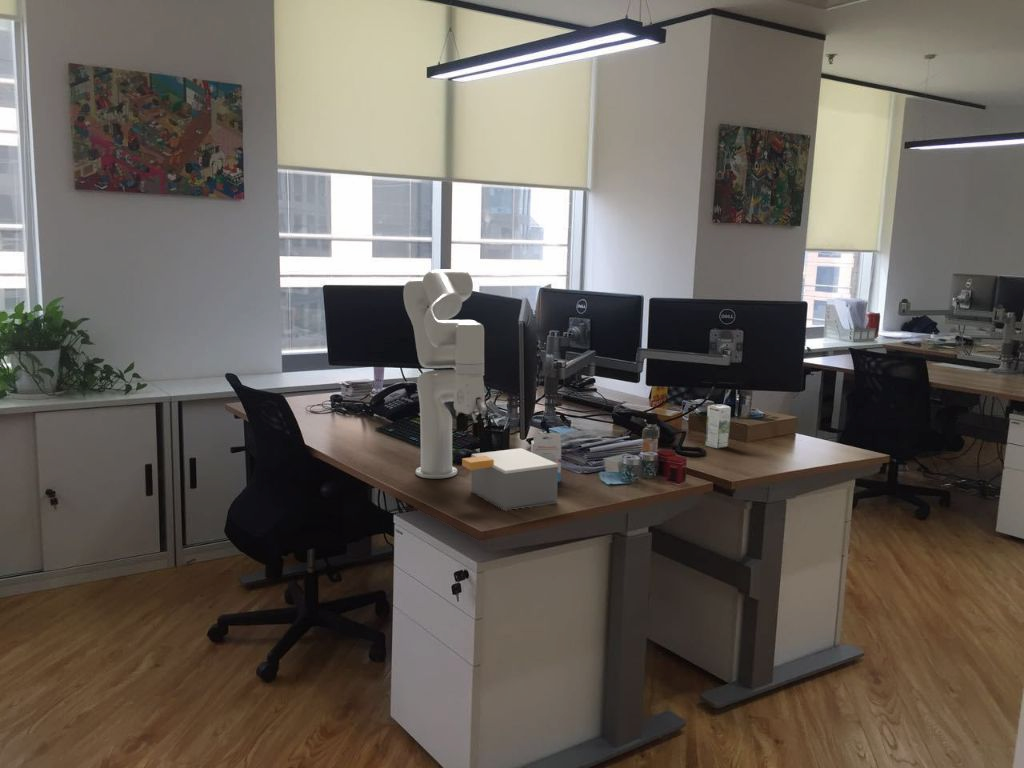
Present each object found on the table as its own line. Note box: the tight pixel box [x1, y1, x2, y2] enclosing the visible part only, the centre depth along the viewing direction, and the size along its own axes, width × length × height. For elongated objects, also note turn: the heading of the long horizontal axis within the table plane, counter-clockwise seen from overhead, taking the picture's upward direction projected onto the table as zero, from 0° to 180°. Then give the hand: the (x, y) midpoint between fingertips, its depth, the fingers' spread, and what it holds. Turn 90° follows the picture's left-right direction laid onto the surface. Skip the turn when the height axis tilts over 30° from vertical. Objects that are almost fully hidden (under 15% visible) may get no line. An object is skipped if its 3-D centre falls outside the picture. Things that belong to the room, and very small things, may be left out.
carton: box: [470, 467, 559, 512], centre depth 235 cm, size 20×16×10 cm
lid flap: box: [461, 447, 558, 474], centre depth 232 cm, size 20×22×2 cm
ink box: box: [530, 432, 562, 483], centre depth 252 cm, size 8×5×15 cm, turn 96°
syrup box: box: [704, 403, 732, 449], centre depth 297 cm, size 6×6×14 cm
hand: (470, 433), depth 226 cm, fingers open, 9 cm apart
